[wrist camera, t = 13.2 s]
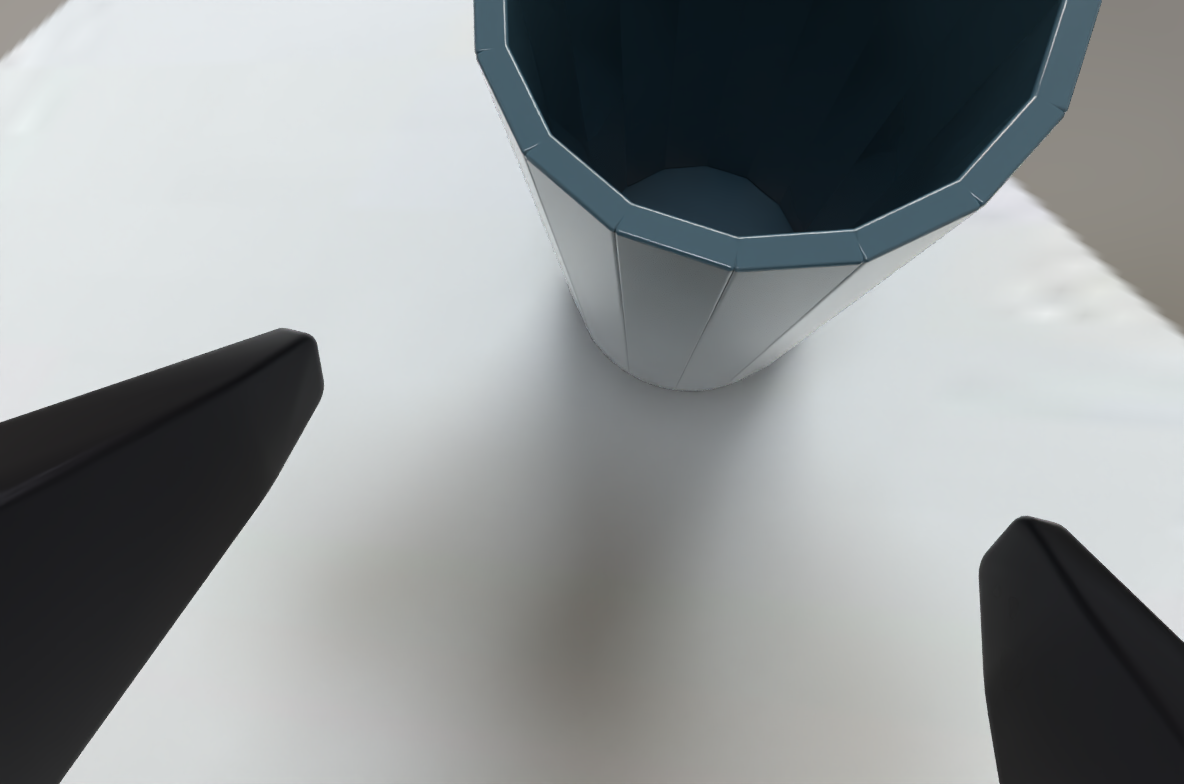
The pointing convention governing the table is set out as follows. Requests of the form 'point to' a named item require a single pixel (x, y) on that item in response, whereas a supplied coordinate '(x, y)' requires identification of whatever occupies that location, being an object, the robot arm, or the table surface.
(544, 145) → the tumbler
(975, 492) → the table surface
